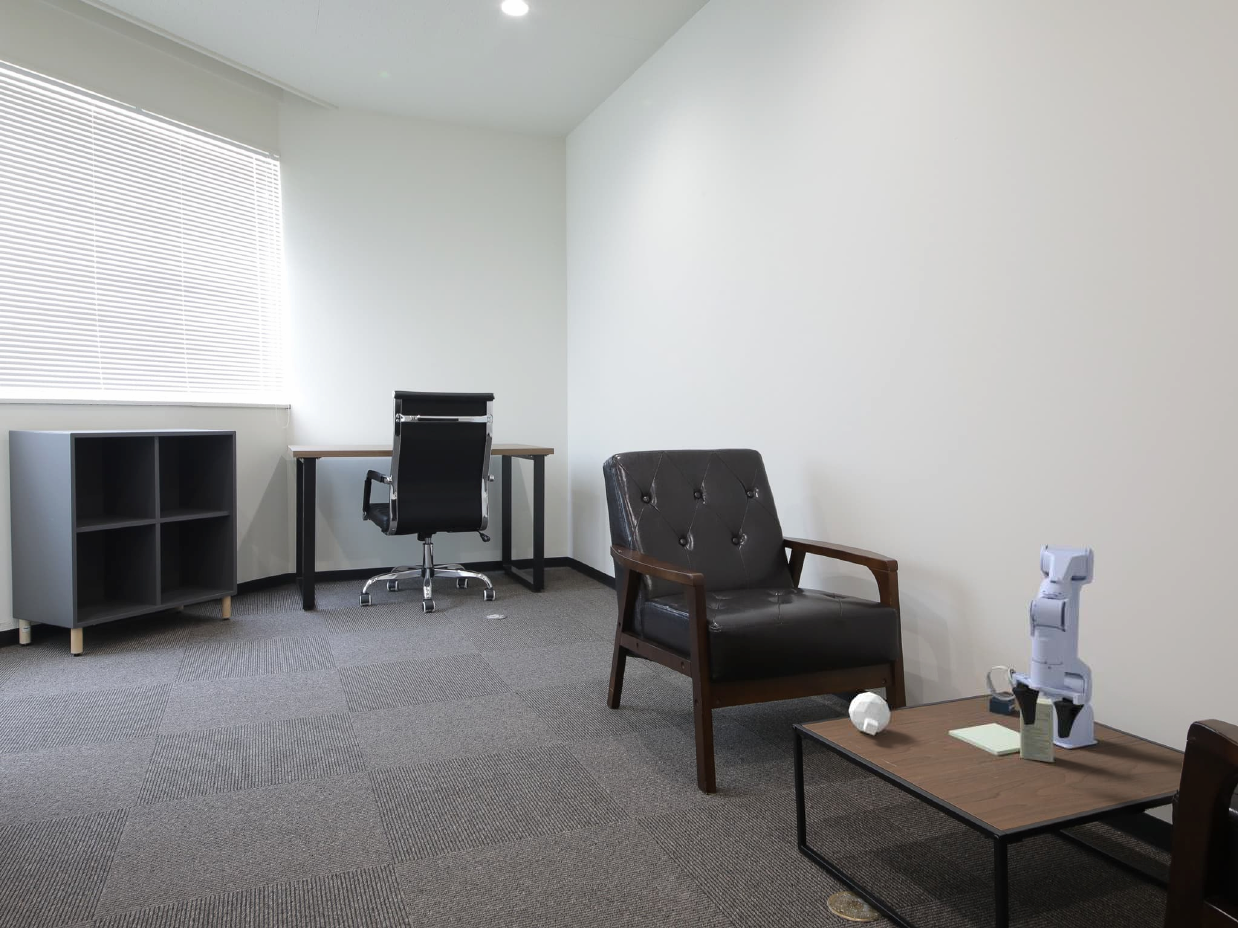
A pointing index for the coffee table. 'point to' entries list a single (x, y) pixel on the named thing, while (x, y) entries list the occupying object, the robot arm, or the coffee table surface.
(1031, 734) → the skincare box
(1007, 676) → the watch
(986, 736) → the mat
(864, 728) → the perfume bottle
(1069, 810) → the coffee table surface
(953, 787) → the coffee table surface
